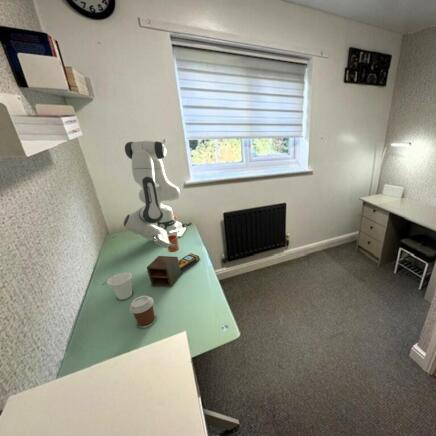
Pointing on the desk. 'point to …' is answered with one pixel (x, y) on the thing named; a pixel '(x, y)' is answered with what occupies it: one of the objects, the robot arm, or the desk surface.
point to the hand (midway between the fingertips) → (173, 242)
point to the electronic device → (187, 261)
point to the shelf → (164, 266)
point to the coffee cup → (143, 311)
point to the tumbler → (174, 240)
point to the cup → (121, 285)
